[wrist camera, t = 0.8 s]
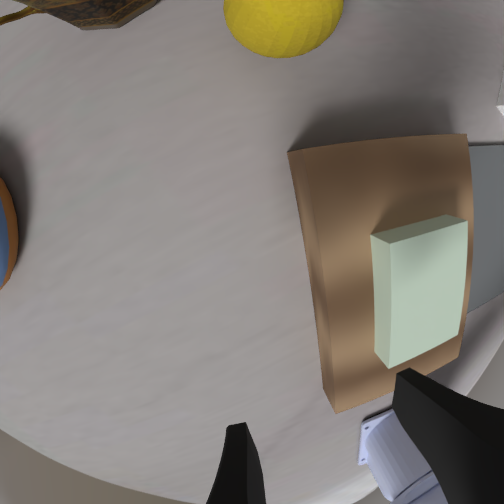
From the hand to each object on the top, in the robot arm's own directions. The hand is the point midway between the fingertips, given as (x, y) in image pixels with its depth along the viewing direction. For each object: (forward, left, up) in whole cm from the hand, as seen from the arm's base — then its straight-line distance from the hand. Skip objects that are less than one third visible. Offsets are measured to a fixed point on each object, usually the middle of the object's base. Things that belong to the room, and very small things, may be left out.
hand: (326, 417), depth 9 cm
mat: (+1, -21, -10) cm, 23 cm away
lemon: (+17, -3, -10) cm, 20 cm away
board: (0, -9, -10) cm, 13 cm away
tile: (0, -9, -7) cm, 11 cm away
